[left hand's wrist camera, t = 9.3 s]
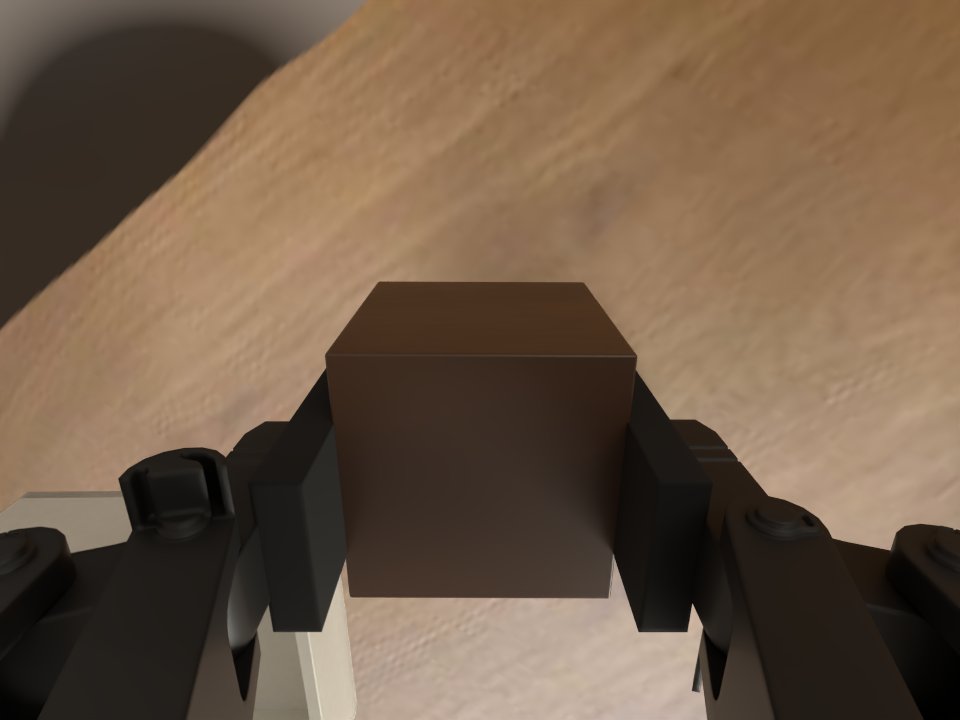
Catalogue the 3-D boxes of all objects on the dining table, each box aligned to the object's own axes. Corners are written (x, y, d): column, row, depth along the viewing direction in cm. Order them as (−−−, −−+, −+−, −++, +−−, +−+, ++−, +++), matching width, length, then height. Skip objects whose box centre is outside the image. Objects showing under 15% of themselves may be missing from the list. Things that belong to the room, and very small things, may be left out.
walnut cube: (377, 281, 14) (323, 353, 9) (584, 281, 14) (638, 354, 9) (389, 460, 15) (349, 598, 11) (571, 461, 15) (610, 599, 11)
